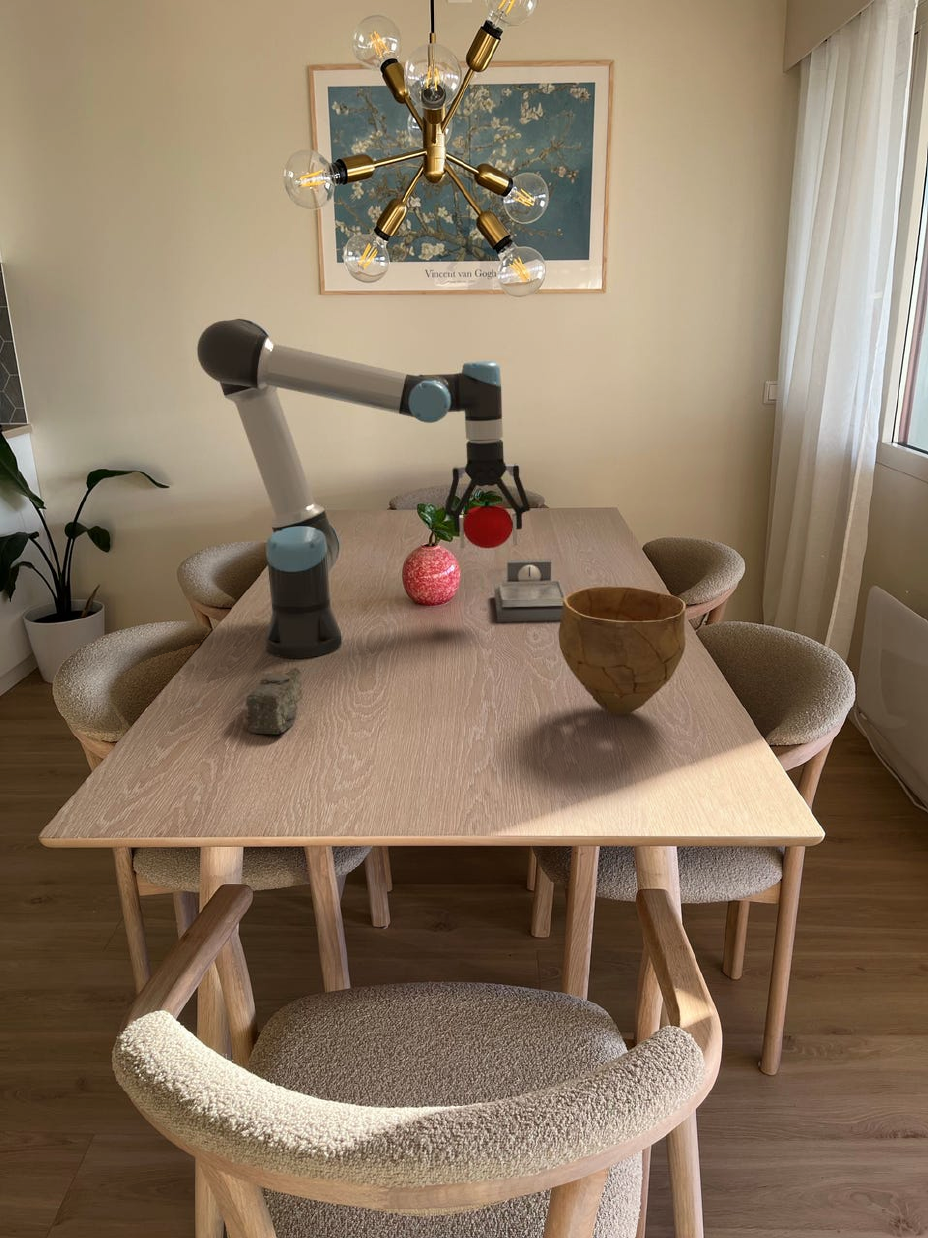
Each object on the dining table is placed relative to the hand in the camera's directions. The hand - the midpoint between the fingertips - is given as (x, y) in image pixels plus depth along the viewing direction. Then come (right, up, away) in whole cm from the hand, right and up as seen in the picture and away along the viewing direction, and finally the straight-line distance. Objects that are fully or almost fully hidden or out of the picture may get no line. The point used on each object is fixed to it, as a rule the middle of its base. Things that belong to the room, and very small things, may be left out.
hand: (488, 545), depth 198 cm
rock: (-37, -33, -40) cm, 64 cm away
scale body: (+10, -13, +13) cm, 21 cm away
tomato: (0, -1, 0) cm, 1 cm away
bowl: (+21, -32, -42) cm, 56 cm away
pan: (+10, -11, +11) cm, 19 cm away
